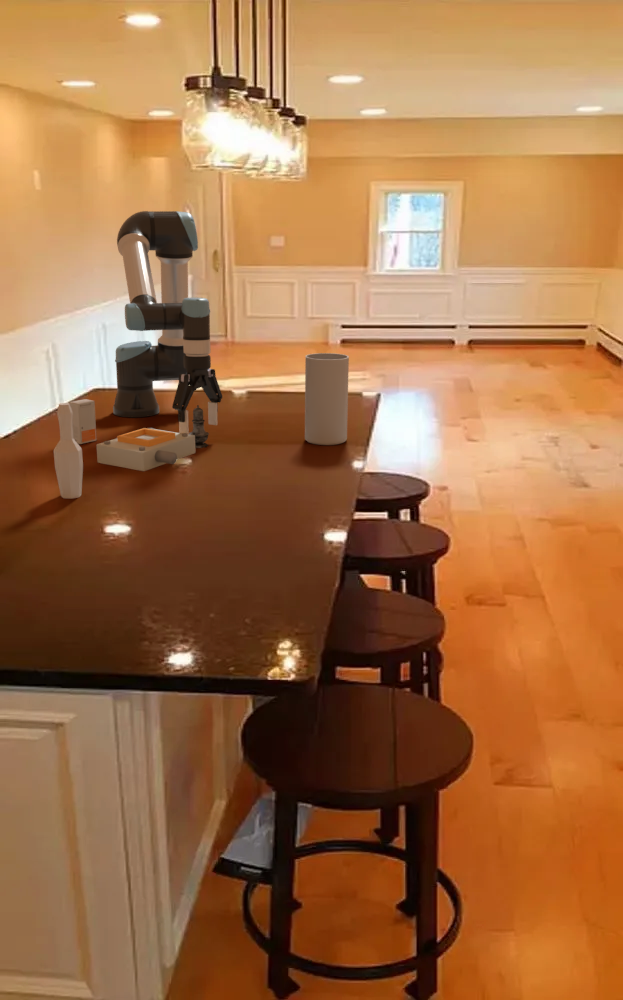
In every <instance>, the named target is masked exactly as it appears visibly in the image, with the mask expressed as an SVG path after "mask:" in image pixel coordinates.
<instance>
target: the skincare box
mask: <svg viewBox="0 0 623 1000" xmlns="http://www.w3.org/2000/svg"><path fill="white" fill-rule="evenodd" d="M68 403H69V404H70V406H71V409H72V412H73V421H72V427H73V439H74V440H75V441H76V442H77V443H78V445H82V444H86V443H87V444H88V443H91V442H92V443H93V442H96V441H97V425H96V405H95V400H91V399H88V398H87V399H86V398H85V399H78V400H73V401H70V402H68Z"/></svg>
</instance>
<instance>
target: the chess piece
mask: <svg viewBox="0 0 623 1000" xmlns="http://www.w3.org/2000/svg"><path fill="white" fill-rule="evenodd" d="M192 418H193V419H192V420H191V422H192V426H193V427H192V431H190V432H189V433H188V434H189V435H195V449H204V448H207V446H208V447H209V444H207V443H206V441H207V440H208V437H209V435H210V433H209V432H208V431H206V430H205V422H206V420H205V419H204V410H203V408H201V407H200V405H199V404H197V405H196V408H194V409H193V411H192ZM203 447H204V448H203Z"/></svg>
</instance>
